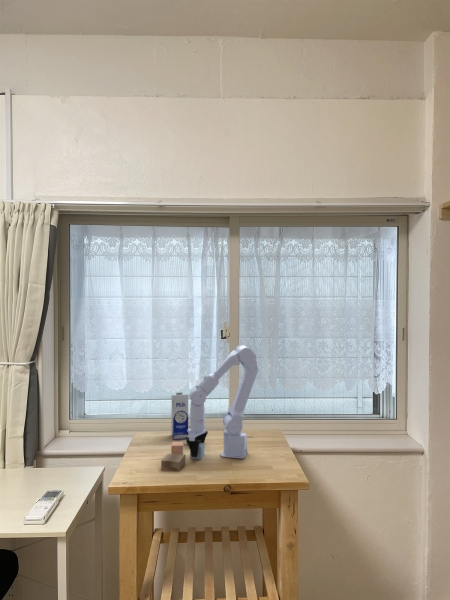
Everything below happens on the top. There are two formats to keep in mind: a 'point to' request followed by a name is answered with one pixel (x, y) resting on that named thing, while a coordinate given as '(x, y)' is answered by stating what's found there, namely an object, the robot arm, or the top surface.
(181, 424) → the milk carton
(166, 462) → the walnut base
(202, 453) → the slate block
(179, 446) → the terracotta block
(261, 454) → the top surface
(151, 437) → the top surface
